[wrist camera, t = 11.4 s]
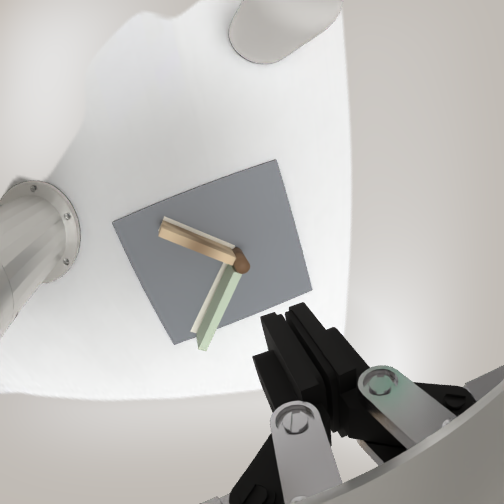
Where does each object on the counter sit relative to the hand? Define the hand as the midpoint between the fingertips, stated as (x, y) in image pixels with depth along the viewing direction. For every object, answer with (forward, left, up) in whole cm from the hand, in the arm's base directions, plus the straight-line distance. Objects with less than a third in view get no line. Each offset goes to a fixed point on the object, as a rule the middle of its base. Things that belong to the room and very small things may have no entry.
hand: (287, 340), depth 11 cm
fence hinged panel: (-4, -11, -25) cm, 28 cm away
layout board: (-1, -7, -26) cm, 27 cm away
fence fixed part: (-2, -4, -26) cm, 27 cm away
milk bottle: (+12, +17, -26) cm, 34 cm away
